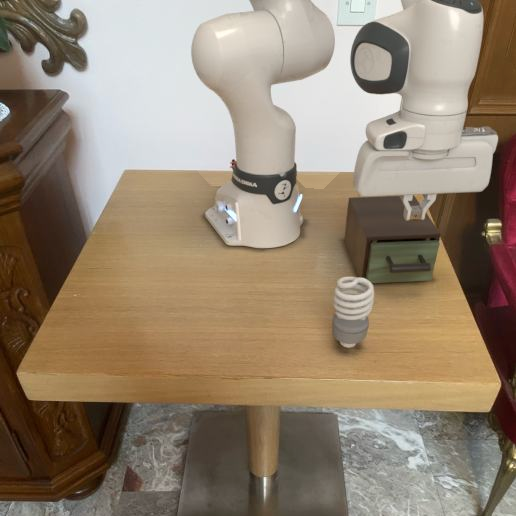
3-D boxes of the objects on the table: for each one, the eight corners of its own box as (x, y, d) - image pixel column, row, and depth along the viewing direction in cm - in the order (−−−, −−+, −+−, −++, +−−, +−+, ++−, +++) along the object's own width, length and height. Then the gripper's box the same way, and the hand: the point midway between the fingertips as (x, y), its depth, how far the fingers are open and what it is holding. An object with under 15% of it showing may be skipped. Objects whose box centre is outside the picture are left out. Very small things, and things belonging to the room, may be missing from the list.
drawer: (439, 294, 89) (448, 256, 84) (372, 297, 88) (378, 259, 84) (407, 240, 103) (414, 205, 98) (350, 243, 103) (354, 208, 98)
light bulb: (331, 358, 78) (338, 291, 70) (326, 335, 82) (332, 269, 74) (369, 358, 78) (380, 290, 70) (362, 334, 82) (372, 268, 74)
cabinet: (430, 279, 94) (441, 233, 88) (360, 282, 93) (367, 236, 88) (405, 237, 106) (413, 195, 100) (344, 240, 105) (348, 197, 100)
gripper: (492, 119, 78) (470, 207, 86) (355, 124, 77) (347, 212, 85) (511, 132, 73) (485, 224, 81) (365, 138, 72) (355, 230, 81)
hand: (413, 218), depth 83 cm, fingers closed
